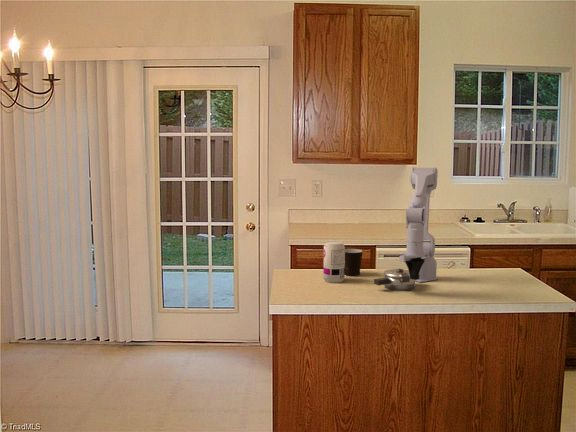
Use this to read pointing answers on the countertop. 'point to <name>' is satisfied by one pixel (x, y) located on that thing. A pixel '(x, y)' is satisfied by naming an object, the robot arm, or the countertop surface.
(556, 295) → the countertop surface
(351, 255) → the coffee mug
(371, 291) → the countertop surface
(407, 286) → the pot
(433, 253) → the robot arm
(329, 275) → the supplement can
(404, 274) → the lid
